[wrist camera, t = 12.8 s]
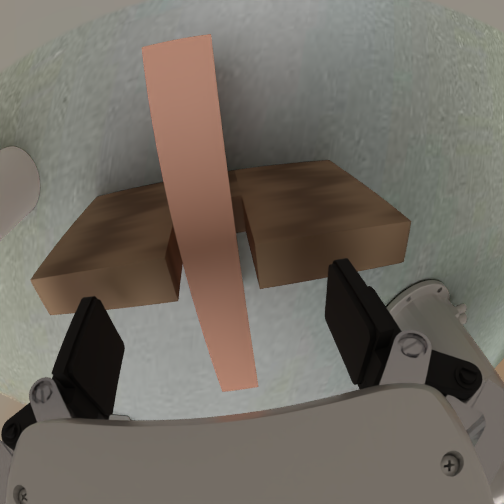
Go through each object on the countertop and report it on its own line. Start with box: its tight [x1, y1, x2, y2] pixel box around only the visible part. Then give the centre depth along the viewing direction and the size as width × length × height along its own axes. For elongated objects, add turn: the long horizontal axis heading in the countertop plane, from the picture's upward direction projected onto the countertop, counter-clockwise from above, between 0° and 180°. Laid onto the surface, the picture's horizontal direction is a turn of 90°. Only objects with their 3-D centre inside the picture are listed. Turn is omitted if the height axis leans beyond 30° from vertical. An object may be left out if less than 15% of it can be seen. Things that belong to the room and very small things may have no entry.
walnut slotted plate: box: [31, 160, 411, 315], centre depth 18 cm, size 20×2×12 cm, turn 96°
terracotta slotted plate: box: [142, 34, 258, 392], centre depth 18 cm, size 20×2×12 cm, turn 5°
